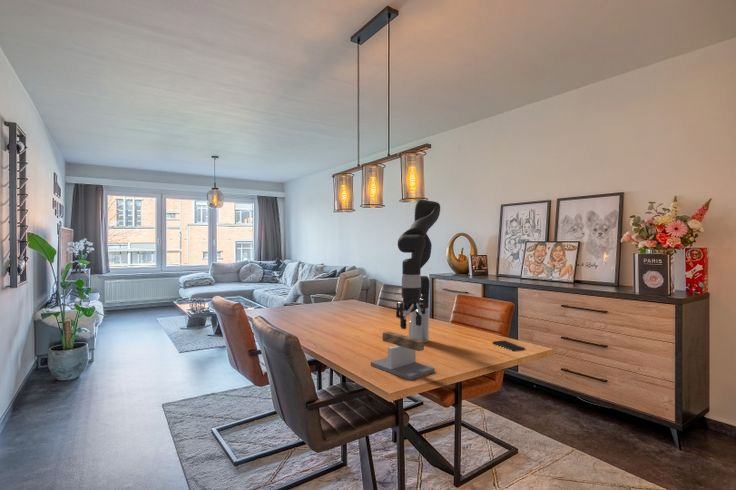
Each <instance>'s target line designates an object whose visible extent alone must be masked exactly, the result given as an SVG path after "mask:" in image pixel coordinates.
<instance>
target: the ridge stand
mask: <svg viewBox="0 0 736 490" xmlns="http://www.w3.org/2000/svg"><path fill="white" fill-rule="evenodd" d="M416 360H417V359H416V350H413V349H409V348H406V347H402V346H399V345H394V346H390V347H389V346H388V347H387V357H384V358H379V359H378V360H373V361H371V362H370V366H371V367H374V368H377V369H379V370H381V371H385V372H387V373H390V374H393V375H396V376H398V377H401V378H404V379H406V380H409V381H414V380H415V379H418V378H420V377H423V376H427V375H429V374H433V373H435V370H436V369H435V367H434V366H429V365H426V364H424V363H420V362H417V361H416Z"/></svg>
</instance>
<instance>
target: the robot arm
mask: <svg viewBox="0 0 736 490" xmlns="http://www.w3.org/2000/svg"><path fill="white" fill-rule="evenodd" d="M440 213H441V204H440V203H439V202H437V201H433V200H427V199H418V200H417V201H416V204H415V207H414V222H413V223H412V224H411V225H410V227H409V229H408V230H406V231H404V232H403V233H402V234H401V235H399V237H398V239H397V247H398V250H399V251H400V252H402V253H409V254H410V253H411V258H405V259H403V260H402V265H401V266H402V270H401V271H402V277H401V298H402V299H403V300H402V302H400V301H397V302H396V311H395V312H396V313H395V317H396V318H397V319H399V320H400V323H399V324H400V325H399V326H400V328H401V329H402V330H406V329H407V317H408V316H409V315H410V321H409V322H408V337H411V338H415V339H419V340H423V341H424V344H425V343H429V338H430V337H429V336H430V335H429V333H430V332H429V328H430V325H429V324H430V322H429V321H430V312H429V309H430V304H429V303H430V288H431V287H430V285H431V283H430V278H429V277H428V276H427V275H421V269H423V267H424V266H425V265H426V264H427V263H428V262H429V259H430V258H431V254H432V241H431V239H430V238H429V236H428V234H427V233H428V231H429V230H430V229H431V228H432V227H433V226H434V224H435V223H436V222H437V220H439V216H440Z"/></svg>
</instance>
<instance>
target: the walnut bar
mask: <svg viewBox="0 0 736 490" xmlns="http://www.w3.org/2000/svg"><path fill="white" fill-rule="evenodd" d="M382 341H383V342H384V343H388V344H392V345H394V346H397V345H399V346H402V347H406V348H409V349H413V350H416V351H417V352H422V351H424V350H425V343H424V341H423V340H419V339H415V338H411V337H409V336H406V335H404V334H403V335H402V334H399V333H395V332H391V331H384V332H382Z"/></svg>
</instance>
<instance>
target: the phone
mask: <svg viewBox="0 0 736 490" xmlns="http://www.w3.org/2000/svg"><path fill="white" fill-rule="evenodd" d="M492 345H495V346H497V345H498V346H497V347H500V346H501V348H502V347H504V348H503V349H505V348H506V350H508V349H509V350H508V351H510V350H512V351H511V352H516V350H520V351H525V350H524V349H526V348H525V346H524V347H523V346H521V345H518V344H516V343H512V342H510V341H506V340H497V341H492Z"/></svg>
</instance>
